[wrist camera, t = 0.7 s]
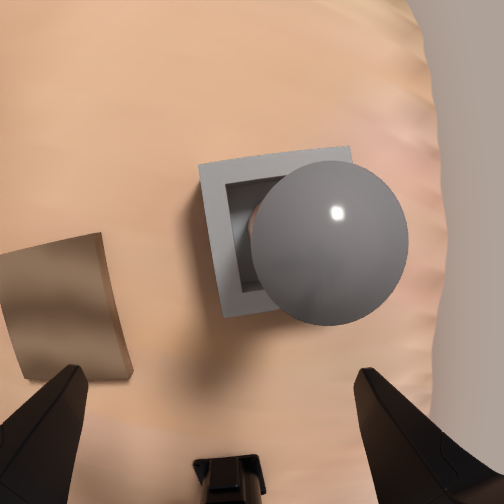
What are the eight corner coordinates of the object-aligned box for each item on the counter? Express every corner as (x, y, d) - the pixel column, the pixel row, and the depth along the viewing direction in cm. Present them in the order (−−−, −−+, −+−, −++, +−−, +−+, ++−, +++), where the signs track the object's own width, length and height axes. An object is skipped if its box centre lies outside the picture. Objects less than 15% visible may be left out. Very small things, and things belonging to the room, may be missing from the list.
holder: (349, 280, 25) (368, 292, 21) (225, 302, 25) (223, 318, 21) (332, 155, 24) (349, 145, 20) (204, 172, 24) (197, 164, 20)
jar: (323, 260, 24) (412, 307, 11) (249, 272, 24) (265, 339, 11) (313, 185, 23) (397, 155, 10) (237, 196, 23) (239, 171, 10)
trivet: (133, 370, 25) (128, 378, 24) (31, 372, 25) (24, 378, 23) (101, 232, 24) (93, 233, 22) (-1, 255, 23) (-10, 257, 22)
